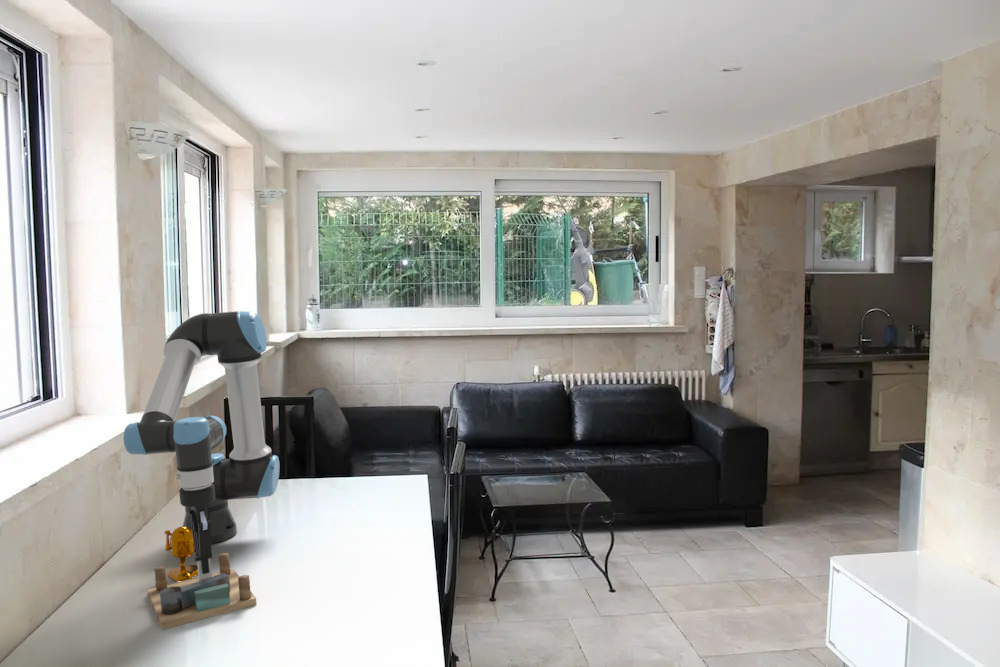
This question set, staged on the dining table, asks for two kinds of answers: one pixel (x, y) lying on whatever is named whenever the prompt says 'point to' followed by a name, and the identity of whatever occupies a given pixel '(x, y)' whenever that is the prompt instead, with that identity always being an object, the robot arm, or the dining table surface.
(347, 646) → the dining table surface
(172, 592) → the leg
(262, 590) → the dining table surface
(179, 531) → the figurine
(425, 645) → the dining table surface
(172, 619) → the board
